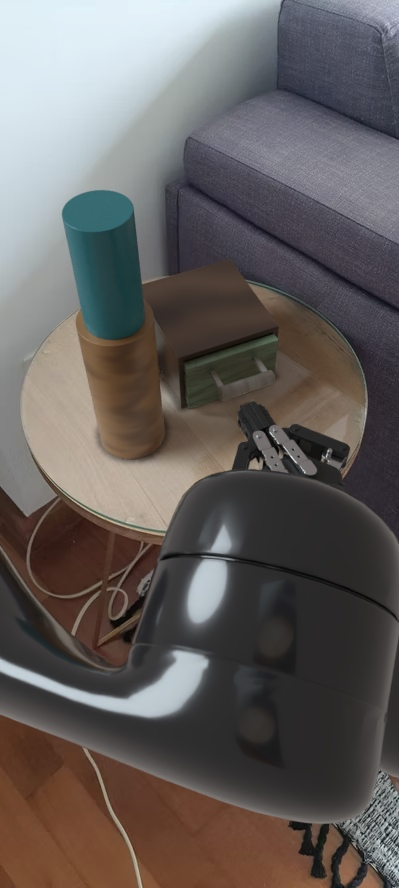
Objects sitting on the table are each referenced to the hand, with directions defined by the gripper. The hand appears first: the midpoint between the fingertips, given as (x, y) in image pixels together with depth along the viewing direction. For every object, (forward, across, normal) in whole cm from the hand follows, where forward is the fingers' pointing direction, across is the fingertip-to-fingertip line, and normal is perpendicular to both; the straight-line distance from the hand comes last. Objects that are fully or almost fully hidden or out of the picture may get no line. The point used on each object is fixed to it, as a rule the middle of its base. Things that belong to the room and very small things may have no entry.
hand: (246, 408), depth 67 cm
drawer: (+15, -4, +11) cm, 19 cm away
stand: (+11, +9, +12) cm, 19 cm away
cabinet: (+19, -4, +12) cm, 23 cm away
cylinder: (+11, +9, -6) cm, 16 cm away
